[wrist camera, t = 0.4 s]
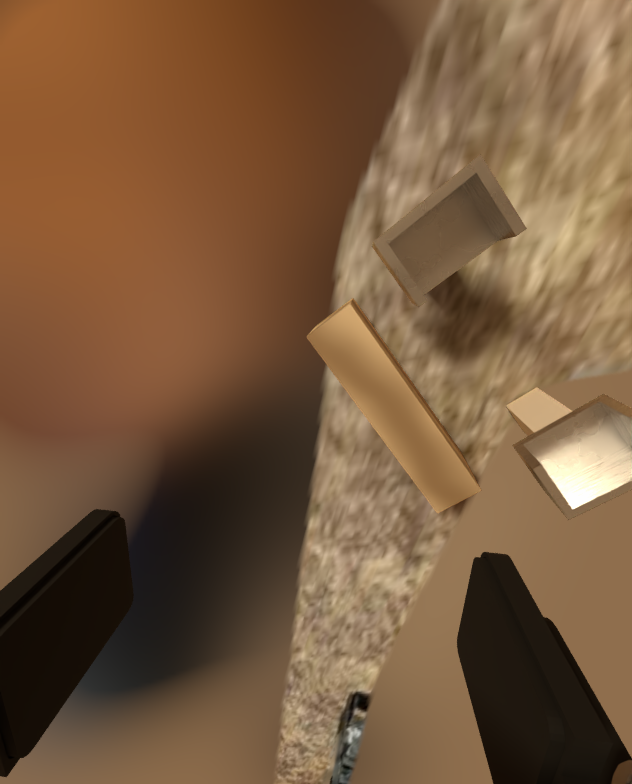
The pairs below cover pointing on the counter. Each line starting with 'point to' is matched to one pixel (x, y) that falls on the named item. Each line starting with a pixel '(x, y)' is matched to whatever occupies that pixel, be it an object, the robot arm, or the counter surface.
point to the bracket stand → (536, 409)
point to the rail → (393, 406)
